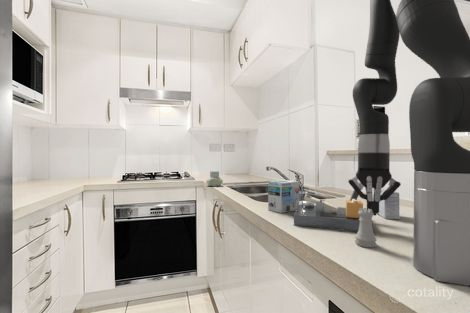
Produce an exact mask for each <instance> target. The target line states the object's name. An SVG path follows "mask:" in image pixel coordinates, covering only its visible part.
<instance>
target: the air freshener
mask: <svg viewBox="0 0 470 313" xmlns="http://www.w3.org/2000/svg"><path fill="white" fill-rule="evenodd" d="M205 182H206V185H208V186H209V187H213V186H216V187H220V186H221V185H222V184H223V179H222V178H221V177H220V171H219V170H211V171H210V173H209V177H208V178H206V181H205Z"/></svg>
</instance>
